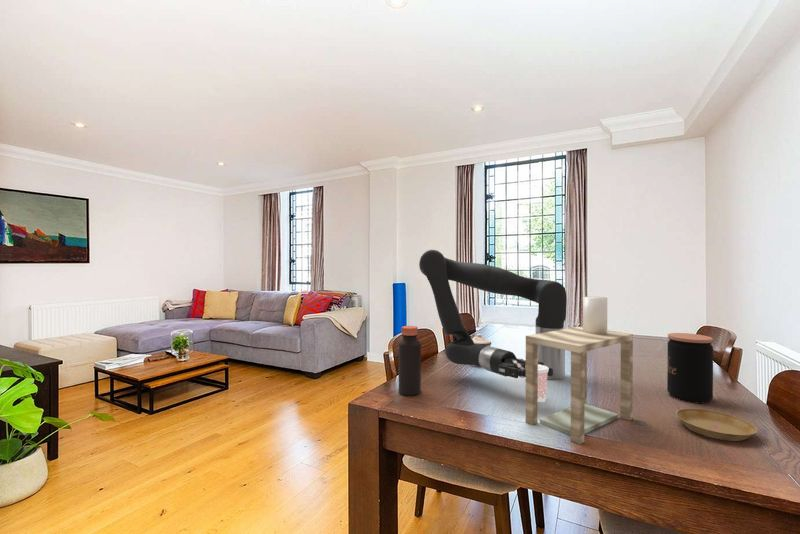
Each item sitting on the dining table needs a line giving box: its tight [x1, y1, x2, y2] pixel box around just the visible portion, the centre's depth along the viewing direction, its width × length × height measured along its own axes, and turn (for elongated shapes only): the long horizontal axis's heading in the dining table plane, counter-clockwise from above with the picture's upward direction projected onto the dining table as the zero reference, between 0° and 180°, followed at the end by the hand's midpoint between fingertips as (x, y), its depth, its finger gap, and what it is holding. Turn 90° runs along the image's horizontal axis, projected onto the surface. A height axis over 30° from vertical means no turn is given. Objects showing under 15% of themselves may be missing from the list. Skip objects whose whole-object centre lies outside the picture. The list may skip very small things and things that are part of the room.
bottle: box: [398, 325, 422, 397], centre depth 116 cm, size 7×7×20 cm
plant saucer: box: [675, 407, 758, 442], centre depth 90 cm, size 15×15×3 cm
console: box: [525, 326, 634, 445], centre depth 95 cm, size 24×14×22 cm, turn 124°
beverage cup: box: [525, 364, 549, 403], centre depth 105 cm, size 6×6×14 cm
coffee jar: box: [666, 332, 714, 404], centre depth 111 cm, size 11×11×18 cm
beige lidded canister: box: [470, 333, 492, 368], centre depth 150 cm, size 12×9×12 cm
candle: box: [582, 296, 608, 334], centre depth 99 cm, size 6×6×9 cm
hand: (544, 374), depth 103 cm, fingers closed on beverage cup, 6 cm apart
